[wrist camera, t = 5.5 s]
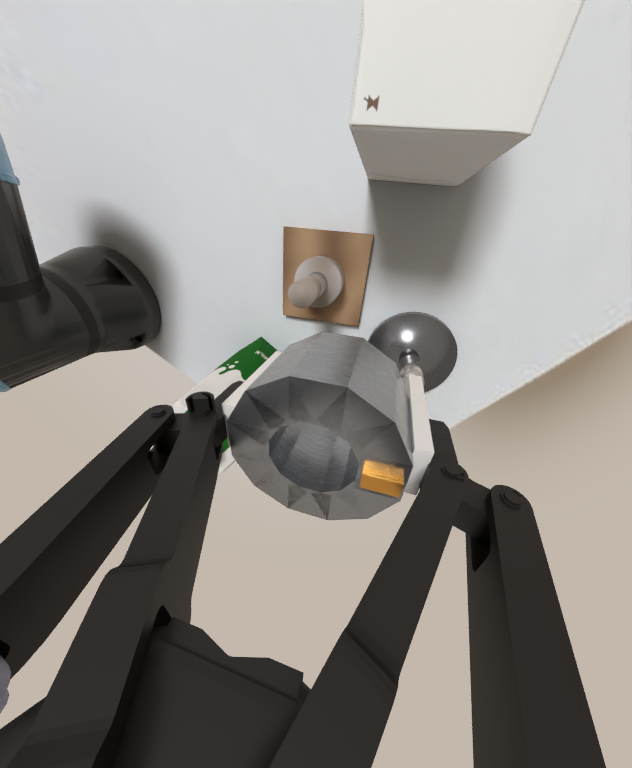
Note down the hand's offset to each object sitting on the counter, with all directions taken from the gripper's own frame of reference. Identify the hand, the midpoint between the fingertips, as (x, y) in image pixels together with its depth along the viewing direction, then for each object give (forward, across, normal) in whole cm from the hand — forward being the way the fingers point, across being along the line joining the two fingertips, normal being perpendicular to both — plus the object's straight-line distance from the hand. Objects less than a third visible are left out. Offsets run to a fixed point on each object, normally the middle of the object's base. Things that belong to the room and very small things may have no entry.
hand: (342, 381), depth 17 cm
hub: (+18, +6, -5) cm, 20 cm away
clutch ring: (-2, 0, 0) cm, 2 cm away
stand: (+18, -6, +4) cm, 19 cm away
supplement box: (+18, +2, +17) cm, 25 cm away
